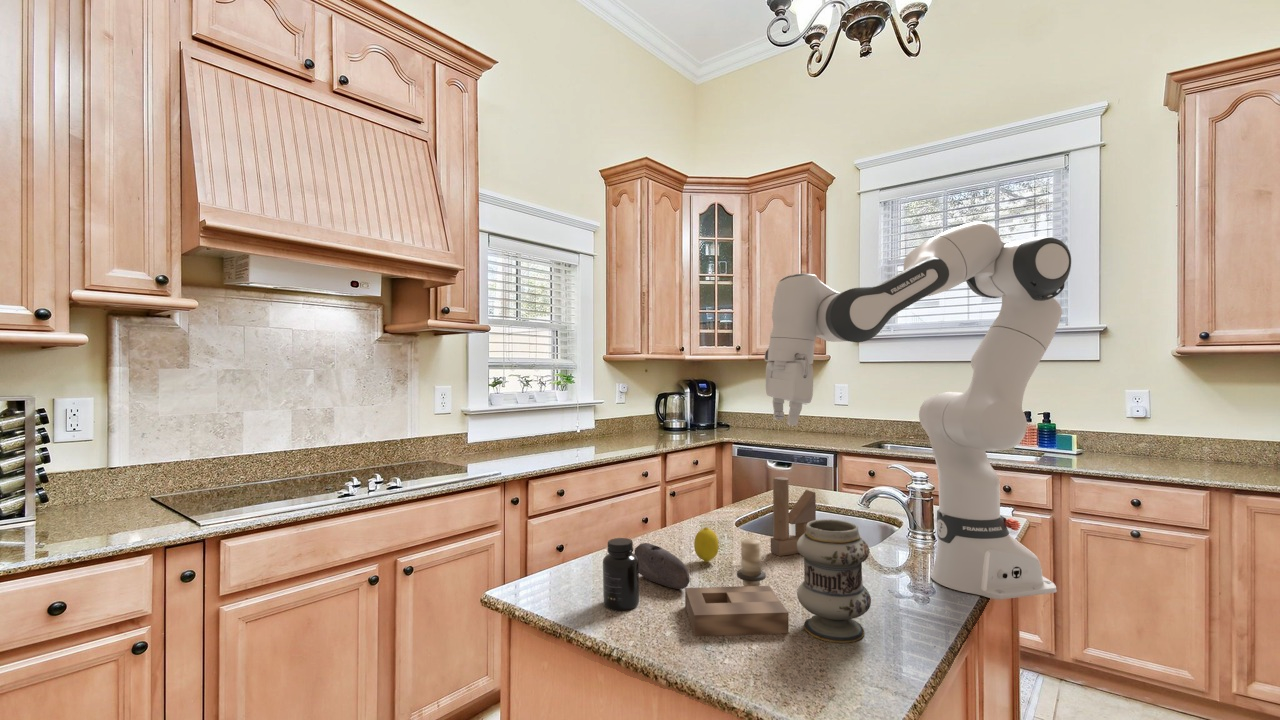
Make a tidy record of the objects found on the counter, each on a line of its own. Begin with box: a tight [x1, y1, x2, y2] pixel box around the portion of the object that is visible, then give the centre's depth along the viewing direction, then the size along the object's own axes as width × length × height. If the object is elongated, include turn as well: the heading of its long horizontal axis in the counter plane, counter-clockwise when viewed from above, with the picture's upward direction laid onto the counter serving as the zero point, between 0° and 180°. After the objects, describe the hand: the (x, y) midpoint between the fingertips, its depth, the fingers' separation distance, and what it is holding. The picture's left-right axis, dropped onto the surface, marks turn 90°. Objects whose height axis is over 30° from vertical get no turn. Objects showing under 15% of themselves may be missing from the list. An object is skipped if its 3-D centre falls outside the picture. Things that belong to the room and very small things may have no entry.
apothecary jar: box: [796, 518, 872, 644], centre depth 102 cm, size 12×12×18 cm
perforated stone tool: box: [633, 542, 691, 590], centre depth 124 cm, size 15×5×7 cm, turn 38°
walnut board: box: [684, 585, 790, 637], centre depth 107 cm, size 16×12×4 cm
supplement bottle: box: [602, 537, 640, 612], centre depth 114 cm, size 7×7×12 cm
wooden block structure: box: [770, 476, 817, 557], centre depth 144 cm, size 4×11×18 cm, turn 112°
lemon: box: [693, 527, 720, 563], centre depth 137 cm, size 6×6×8 cm
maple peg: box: [736, 538, 767, 586], centre depth 119 cm, size 6×6×10 cm
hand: (784, 422), depth 120 cm, fingers open, 8 cm apart
